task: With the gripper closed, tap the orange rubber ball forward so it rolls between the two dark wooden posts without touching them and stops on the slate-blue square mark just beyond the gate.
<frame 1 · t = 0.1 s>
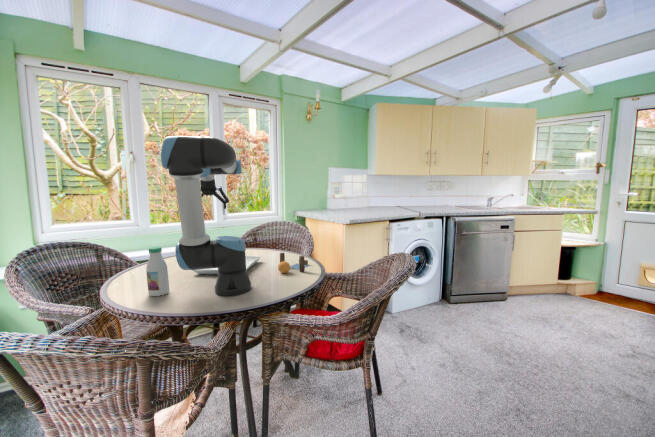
hand: (211, 214, 167), 28 cm above the table, tool tilted 20°, fingers open, 13 cm apart
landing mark: (298, 266, 160), on the table
milk bottle: (159, 294, 124), on the table
post right: (302, 271, 152), on the table
ball: (284, 267, 149), on the table
stopper wall: (303, 264, 164), on the table
post left: (282, 267, 158), on the table
square plate: (229, 269, 158), on the table
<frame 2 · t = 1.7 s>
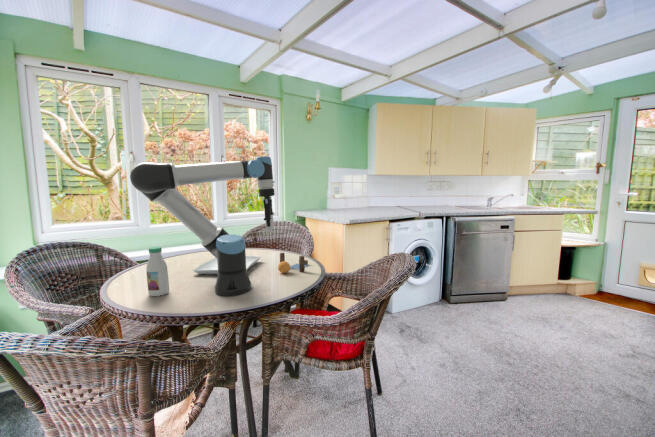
hand: (270, 230, 148), 22 cm above the table, tool pointing down, fingers open, 13 cm apart
nothing on the table moved.
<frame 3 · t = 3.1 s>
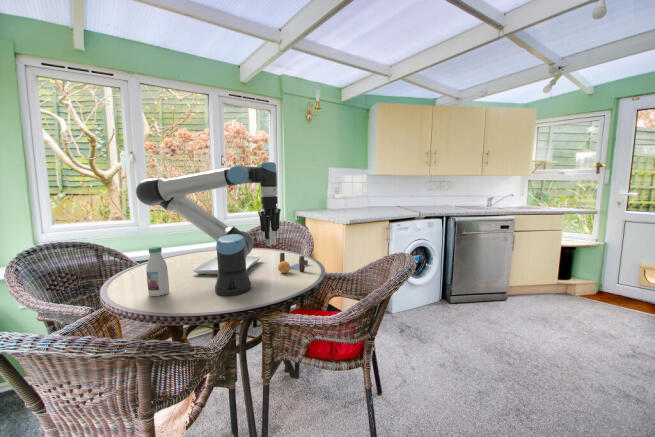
hand: (271, 244, 139), 17 cm above the table, tool pointing down, fingers open, 3 cm apart
nothing on the table moved.
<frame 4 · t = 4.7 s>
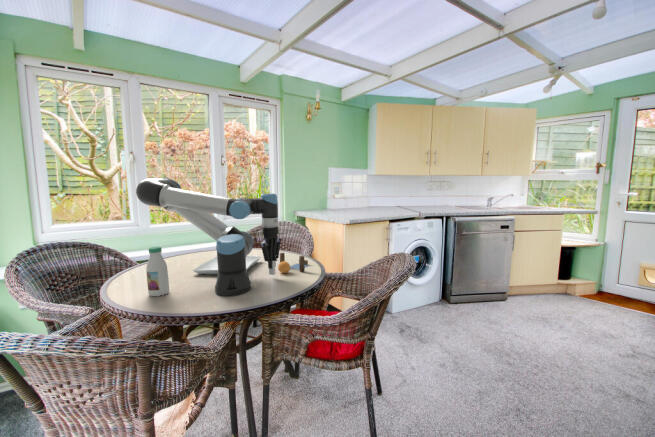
hand: (272, 274, 142), 2 cm above the table, tool pointing down, fingers closed
nothing on the table moved.
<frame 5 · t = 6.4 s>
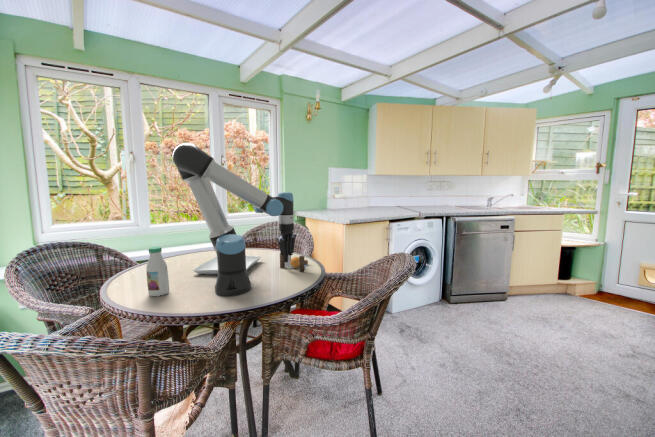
hand: (287, 267, 152), 2 cm above the table, tool pointing down, fingers closed
ball: (295, 262, 157), on the table
everything else where it was.
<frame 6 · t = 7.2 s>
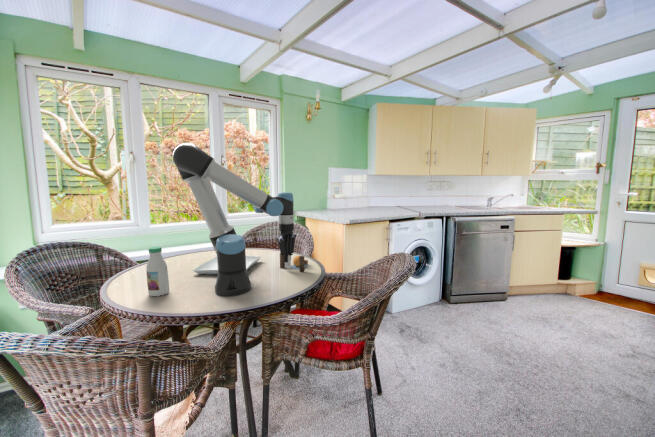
hand: (287, 267, 152), 2 cm above the table, tool pointing down, fingers closed
ball: (298, 261, 159), on the table
everything else where it was.
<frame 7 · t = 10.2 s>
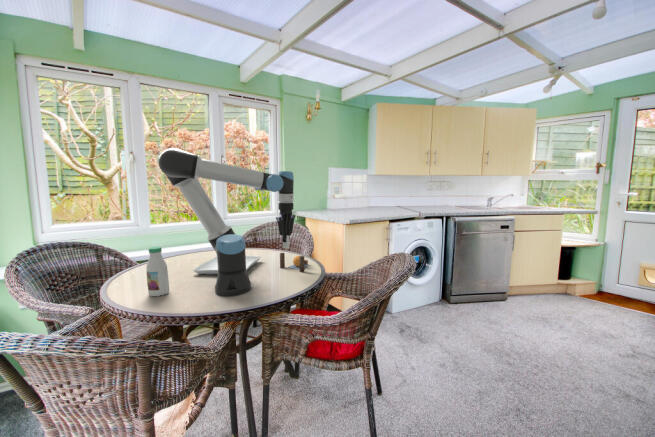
hand: (286, 248, 150), 12 cm above the table, tool pointing down, fingers closed
nothing on the table moved.
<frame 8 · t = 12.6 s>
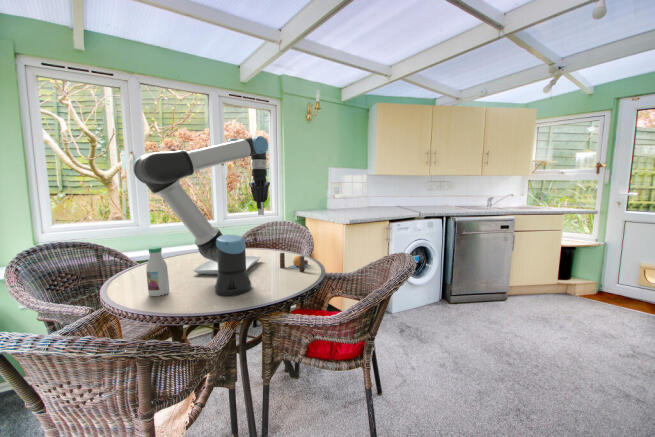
hand: (261, 214, 151), 29 cm above the table, tool pointing down, fingers closed
nothing on the table moved.
at the end: ball 0.3 cm from the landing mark (horizontally); ball never touched post left; ball never touched post right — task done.
